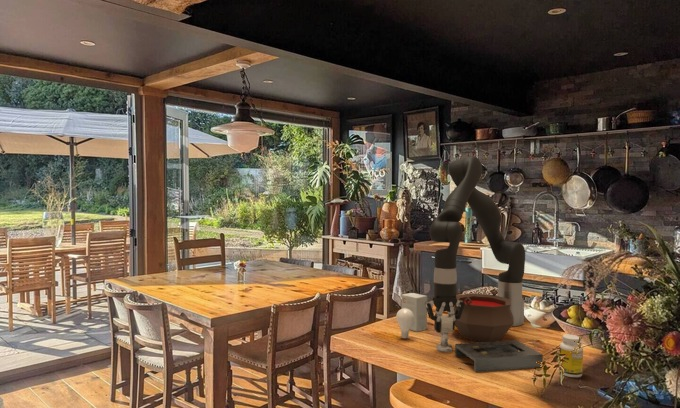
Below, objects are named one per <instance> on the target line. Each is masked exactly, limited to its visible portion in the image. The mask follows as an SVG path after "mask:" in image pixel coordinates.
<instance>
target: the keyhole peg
mask: <svg viewBox="0 0 680 408" xmlns="http://www.w3.org/2000/svg"><path fill="white" fill-rule="evenodd" d="M449 333H454V330H453V317H451V316H450V315H448V313H447V314H442V316H441V318H440V343H437V344H436V351H437V352H439V353H443V354H447V353H452V352H453V346H452V345H451V344H449Z"/></svg>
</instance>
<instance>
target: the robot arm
mask: <svg viewBox="0 0 680 408" xmlns="http://www.w3.org/2000/svg"><path fill="white" fill-rule="evenodd" d="M448 173H449V175H450V178H451V180H452V182H453V183H454V185H455V188H454V189H453V190H452V191H451V192H450V193H449V194H448V196H447V198H446V199H445V202H444V204H443V207H442V210H441V211H440V213H439V214H438V215H437V217H436V218H434V220H433V221H432V223H431V225H430V227H429V237H430V239H431V240H432V242H433V241H434V242H436V243H449V244H448V246H447V247H446V248H442V249H437V250H436V251H435V253H434V270H433V271H434V272H433V298H432V300H430V301H427V302H425V306H426V310H427V317H428V319H430V320H432V321H433V322H434V325H433V326H434V331H436V333H437V334H441V332H440V318H441V316H442V315H444V314H443V313H444V312H447V314H448V315H450V316H451V317H453V331H455V329H456V326H455V320H456V319H460V318H461V314H462V311H463V308H464V305H465V302H463V301H461V300H457V298H456V295H458V293H457V290H458V289H457V287H458V286H457V280H458V276H457V275H458V274H457V254H458V250H459V246H460V242H461V239H462V235H463V228H462V225H461V224H460V223H459V222H461V220H462V219H463V216H464V211H465V209H466V206H467V204H468V206H469V208H470V209H471V212H472V213H473V215H474V217H475V219H476V221H477V224H478V225H479V226H480V228H481V230H482V232H483V234H484V236H485V237H486V240H487V241H488V244H489V246H490V249H491V252H492V253H493V257H494V258H495V260H496V261H497V262H498V263H501V264H504V265H508V267H507V270H506V271H502V272H499V273H498V278H497V279H498V280H497V282H498V283H497V287H498V288H497V292H498V293H497V296H500V297H503V298H507V299H510V300H511V306H510V310H511V312H512V315H513V317H514V324H513V325H512V326H511V327H520V326H521V325H524V324H525V301H524V300H523V278H524V275H525V267H526V266H525V263H526V250H525V246H524V245H523V244H522V243H520V242H515V241H508V240H506V239H505V238H504V236H503V235H502V232H501V226H502V221H503V217H502V213H501V211H500V209H499V207H498V205H497V203H496V202H495V201H494V200H493V199H492V198H491V197H490V196H488V195H487V194H485V193H483V192H482V191H480V190H478V189H477V188H476V186H477V184H478V183H479V181H480V180H481V178H482V176H483V175H482V174H483V165H482V162H481V160H480V159H479V157H478V156H474V155H470V156H467V157H463V158H459V159H455V160H453V161H451V162H450V163H449V164H448ZM456 303H457V304H456ZM455 305H457V308H456V311H455V312H454V306H455ZM433 307H435V309H434V310H433Z"/></svg>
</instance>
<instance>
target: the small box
mask: <svg viewBox="0 0 680 408" xmlns="http://www.w3.org/2000/svg"><path fill="white" fill-rule="evenodd" d="M425 302H428V295H424V294H420V293H414V292H409V293H403V294H401V309H403V308H407V309H409V310H411V311H412V313H413V315H414V320H413V323H412V324H411V326H410V329H409V331H413V332H421V331H424V330H427V329H428V313H427V310H426V306H425Z"/></svg>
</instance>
